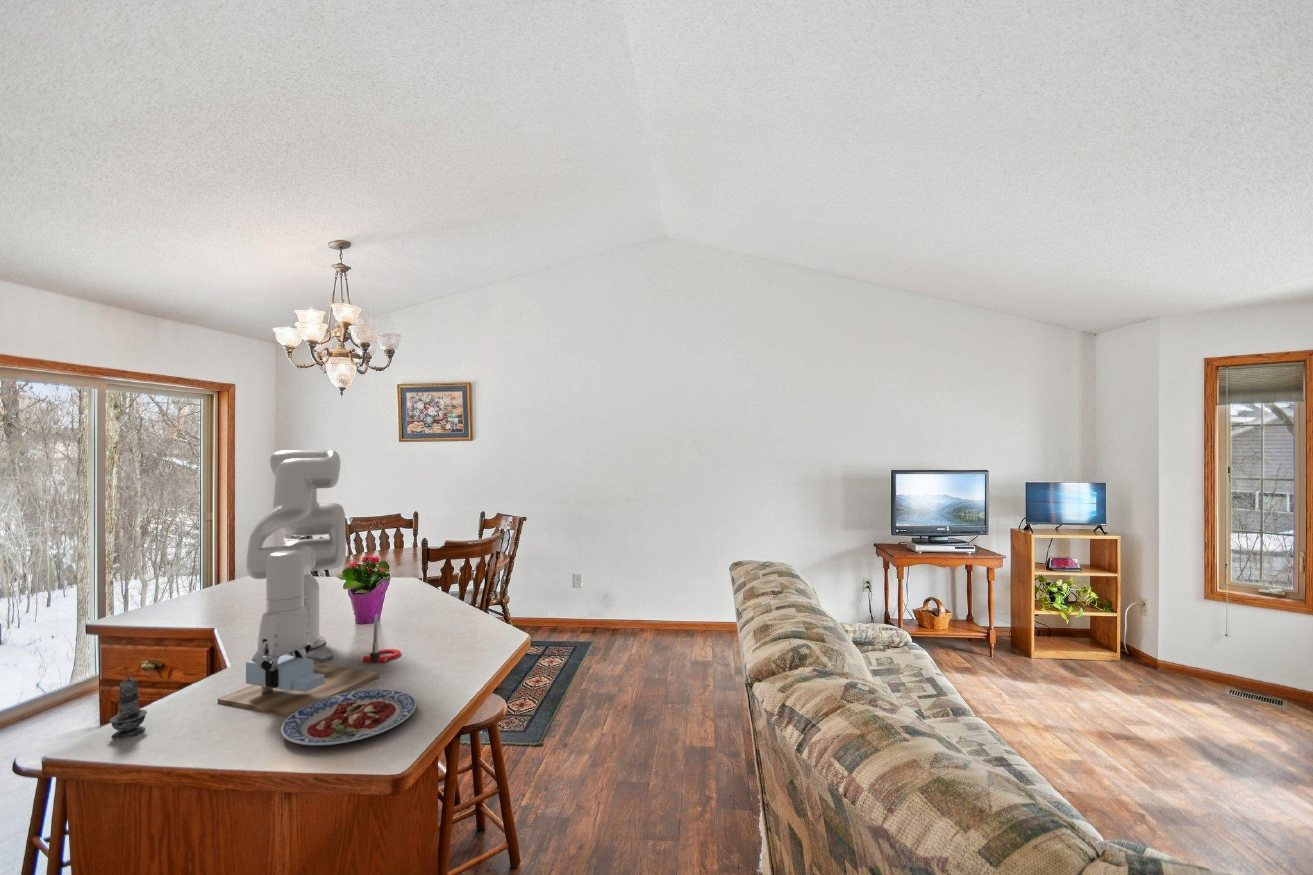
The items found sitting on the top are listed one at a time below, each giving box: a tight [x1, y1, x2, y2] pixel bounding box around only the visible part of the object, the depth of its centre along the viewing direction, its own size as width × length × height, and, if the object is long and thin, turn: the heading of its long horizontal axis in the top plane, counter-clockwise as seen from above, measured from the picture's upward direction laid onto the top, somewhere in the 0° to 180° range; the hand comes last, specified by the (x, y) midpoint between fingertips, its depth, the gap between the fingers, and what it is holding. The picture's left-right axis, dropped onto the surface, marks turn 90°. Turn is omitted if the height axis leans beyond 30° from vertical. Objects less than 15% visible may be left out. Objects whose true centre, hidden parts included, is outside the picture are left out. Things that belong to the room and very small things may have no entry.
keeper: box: [306, 650, 334, 664], centre depth 154 cm, size 10×3×4 cm, turn 71°
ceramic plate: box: [280, 688, 417, 746], centre depth 127 cm, size 26×26×3 cm
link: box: [245, 655, 325, 692], centre depth 138 cm, size 18×6×5 cm, turn 71°
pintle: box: [261, 686, 273, 695], centre depth 140 cm, size 2×2×5 cm
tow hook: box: [362, 614, 401, 663], centre depth 167 cm, size 8×13×9 cm
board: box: [217, 662, 380, 717], centre depth 145 cm, size 24×24×1 cm
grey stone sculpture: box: [109, 675, 148, 740], centre depth 123 cm, size 6×6×12 cm
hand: (285, 680), depth 138 cm, fingers closed on link, 6 cm apart
